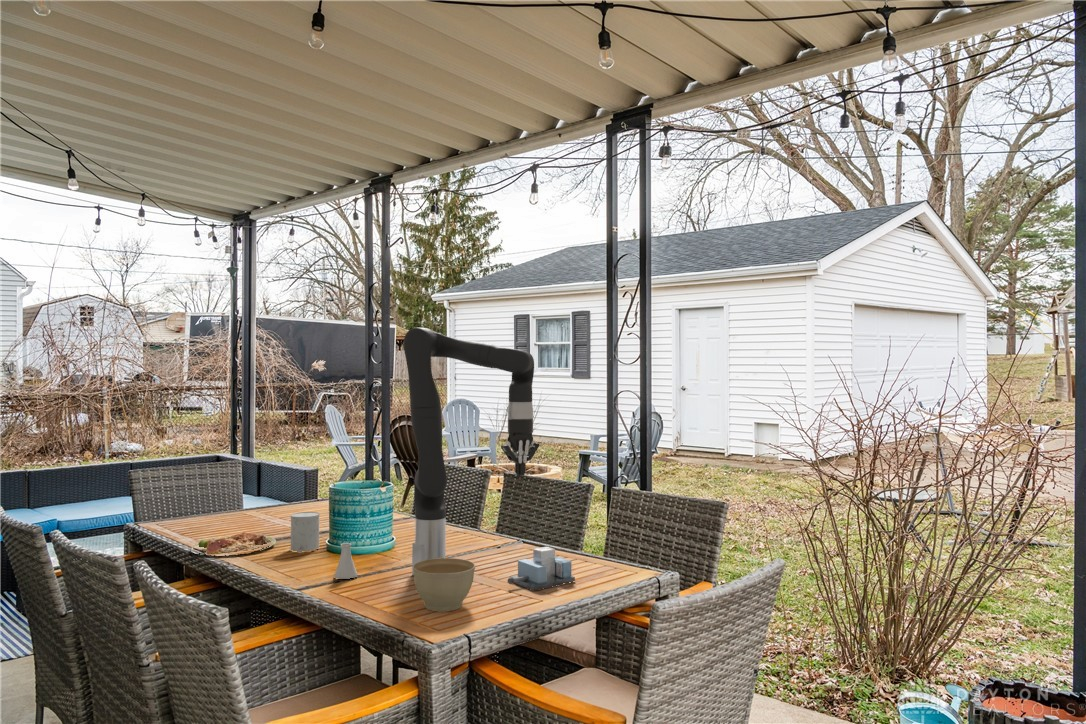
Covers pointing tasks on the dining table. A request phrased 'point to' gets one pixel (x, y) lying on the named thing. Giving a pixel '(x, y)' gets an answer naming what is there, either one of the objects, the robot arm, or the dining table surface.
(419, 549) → the robot arm
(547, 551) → the steel block
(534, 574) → the sliding jaw
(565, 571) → the vise
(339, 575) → the flask
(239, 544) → the rice dish
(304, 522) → the grey cylinder
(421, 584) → the planter bowl
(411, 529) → the dining table surface
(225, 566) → the dining table surface
